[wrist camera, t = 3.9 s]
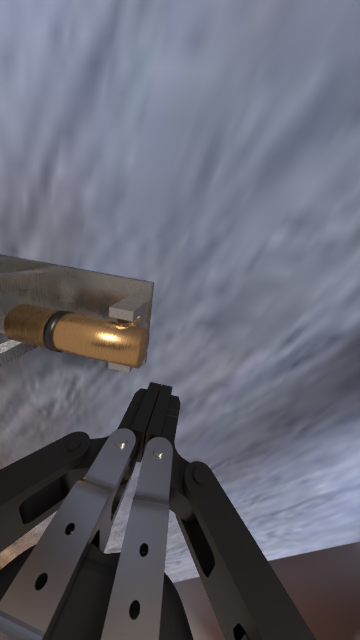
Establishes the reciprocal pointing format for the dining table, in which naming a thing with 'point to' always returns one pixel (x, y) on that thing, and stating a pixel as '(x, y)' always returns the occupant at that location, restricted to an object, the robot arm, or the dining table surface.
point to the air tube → (78, 334)
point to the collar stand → (70, 297)
